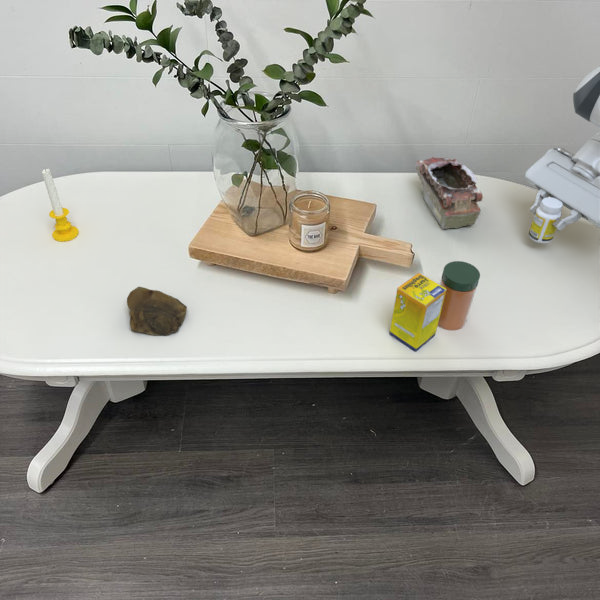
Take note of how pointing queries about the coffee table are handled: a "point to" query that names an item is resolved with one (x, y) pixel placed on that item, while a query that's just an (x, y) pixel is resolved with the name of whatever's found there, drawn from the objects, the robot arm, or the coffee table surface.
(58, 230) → the candle
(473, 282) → the lid
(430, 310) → the supplement box
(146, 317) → the decorative stone
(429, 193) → the decorative box
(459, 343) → the coffee table surface
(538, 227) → the supplement bottle
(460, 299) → the jar
